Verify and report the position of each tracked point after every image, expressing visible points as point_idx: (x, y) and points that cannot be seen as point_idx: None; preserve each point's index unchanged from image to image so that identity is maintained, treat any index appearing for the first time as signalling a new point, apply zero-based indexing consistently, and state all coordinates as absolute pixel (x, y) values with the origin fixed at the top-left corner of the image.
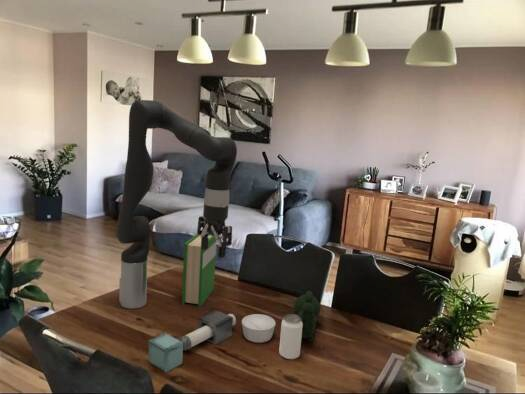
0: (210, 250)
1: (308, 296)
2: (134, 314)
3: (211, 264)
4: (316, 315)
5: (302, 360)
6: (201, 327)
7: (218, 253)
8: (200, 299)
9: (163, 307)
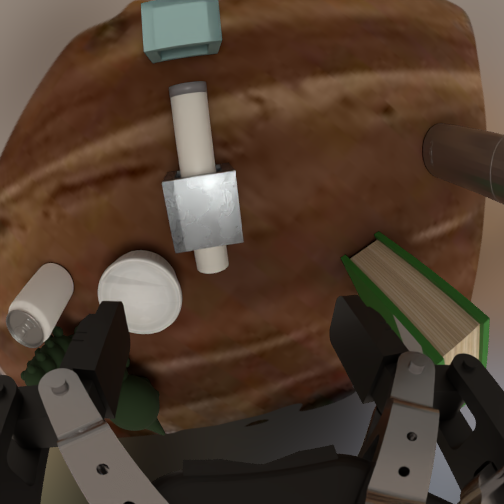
0: None
1: None
2: (407, 117)
3: None
4: None
5: None
6: (205, 157)
7: (104, 319)
8: (349, 266)
9: (394, 187)
